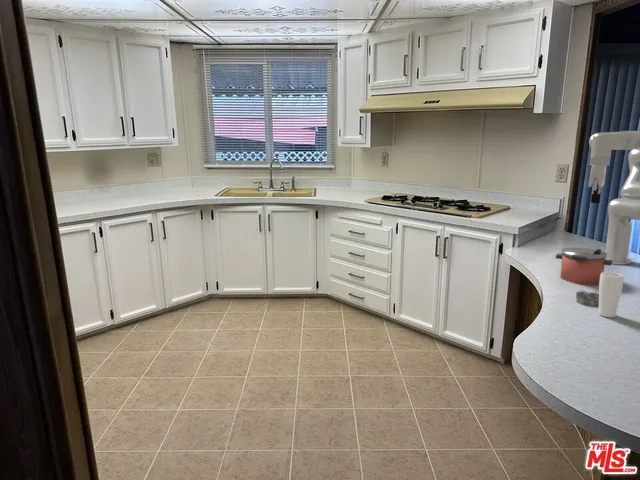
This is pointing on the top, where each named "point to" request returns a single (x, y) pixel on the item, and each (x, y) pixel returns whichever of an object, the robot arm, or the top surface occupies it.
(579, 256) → the cooker lid
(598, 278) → the cooker pot
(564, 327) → the top surface
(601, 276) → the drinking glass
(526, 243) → the top surface
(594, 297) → the egg carton
